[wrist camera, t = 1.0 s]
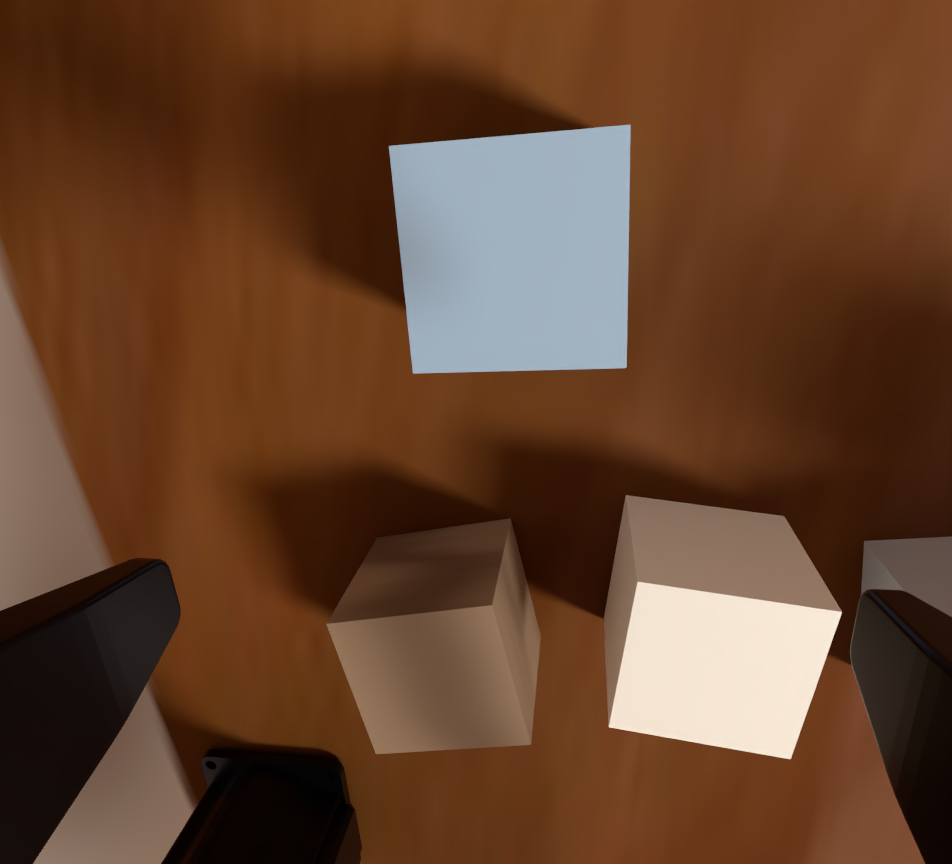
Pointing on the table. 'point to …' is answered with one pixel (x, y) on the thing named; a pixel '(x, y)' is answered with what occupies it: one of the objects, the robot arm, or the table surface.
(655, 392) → the table surface
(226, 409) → the table surface
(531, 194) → the bluish grey cube
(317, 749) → the table surface
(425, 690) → the walnut cube
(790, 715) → the cream cube
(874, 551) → the grey cube
